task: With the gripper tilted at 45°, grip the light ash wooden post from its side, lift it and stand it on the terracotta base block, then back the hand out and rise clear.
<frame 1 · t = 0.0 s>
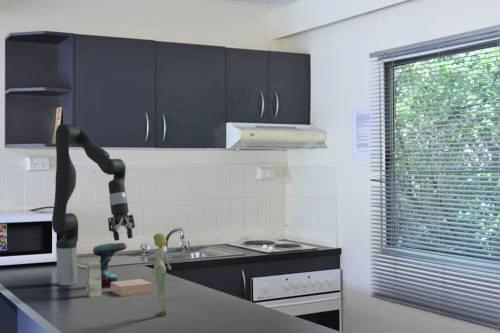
hand: (123, 239, 310), 22 cm above the countertop, tool pointing down, fingers open, 8 cm apart
power drill: (111, 286, 320), on the countertop
sculpture: (161, 315, 256), on the countertop
post: (94, 295, 298), on the countertop
base block: (131, 291, 304), on the countertop
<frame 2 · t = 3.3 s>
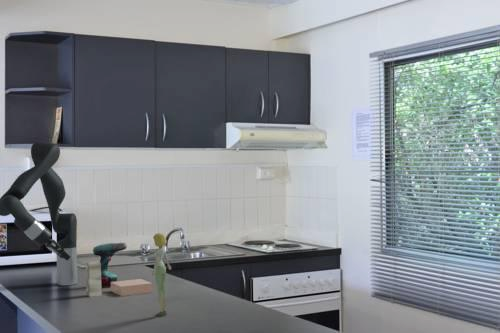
hand: (66, 257, 293), 17 cm above the countertop, tool tilted 45°, fingers open, 8 cm apart
nothing on the countertop moved.
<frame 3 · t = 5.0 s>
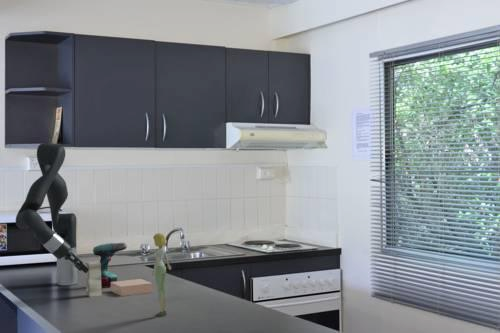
hand: (84, 270, 296), 11 cm above the countertop, tool tilted 45°, fingers open, 8 cm apart
nothing on the countertop moved.
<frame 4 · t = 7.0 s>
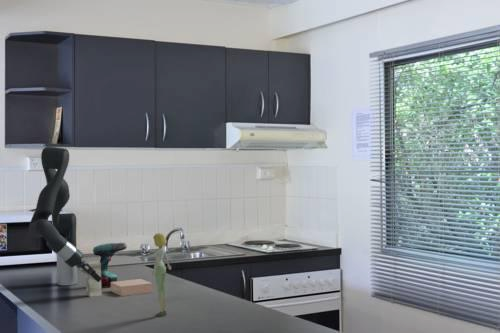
hand: (97, 279, 299), 7 cm above the countertop, tool tilted 45°, fingers closed on post, 5 cm apart
post: (94, 295, 298), on the countertop, touching gripper
everything else where it was.
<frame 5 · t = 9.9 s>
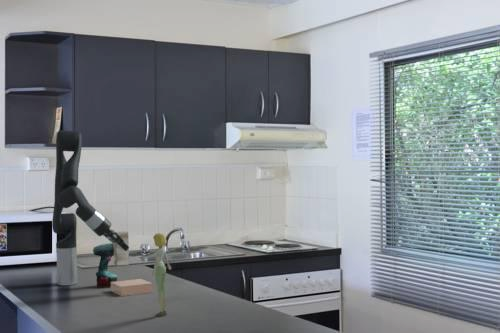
hand: (125, 248, 303), 19 cm above the countertop, tool tilted 45°, fingers closed on post, 5 cm apart
post: (121, 264, 303), point 12 cm above the countertop, touching gripper
everything else where it was.
when the fingers open (12 cm above the countertop, at t = 12.8 s): post drops 1 cm, resting on base block.
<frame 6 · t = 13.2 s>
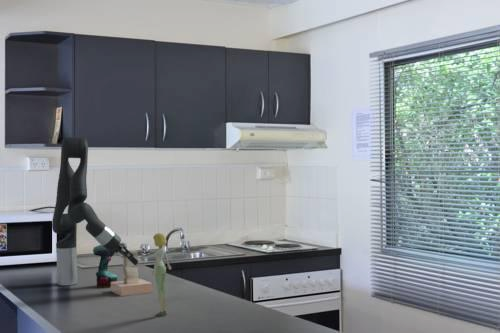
hand: (133, 262, 305), 13 cm above the countertop, tool tilted 45°, fingers open, 8 cm apart
post: (131, 282, 305), point 4 cm above the countertop, touching base block
everything else where it was.
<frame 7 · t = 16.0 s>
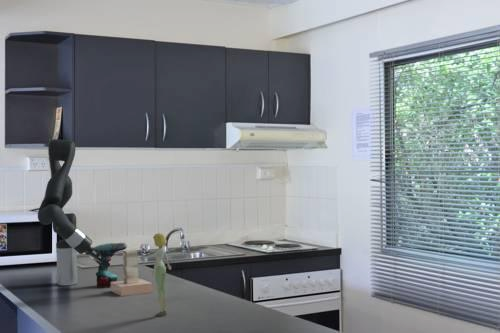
hand: (105, 265, 299), 13 cm above the countertop, tool tilted 45°, fingers open, 8 cm apart
nothing on the countertop moved.
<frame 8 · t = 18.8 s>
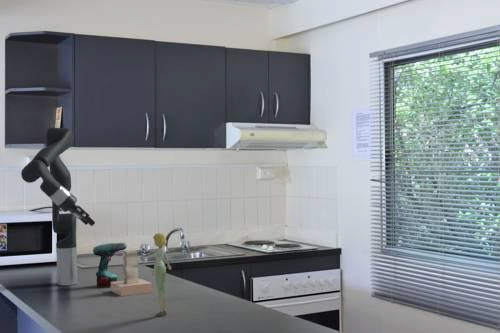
hand: (90, 223, 298), 31 cm above the countertop, tool tilted 45°, fingers open, 8 cm apart
nothing on the countertop moved.
at the end: post inside the target area on the base block (0.2 cm from its centre), point 4.0 cm above the base block's base; post tilted 0°; the gripper is holding nothing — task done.
